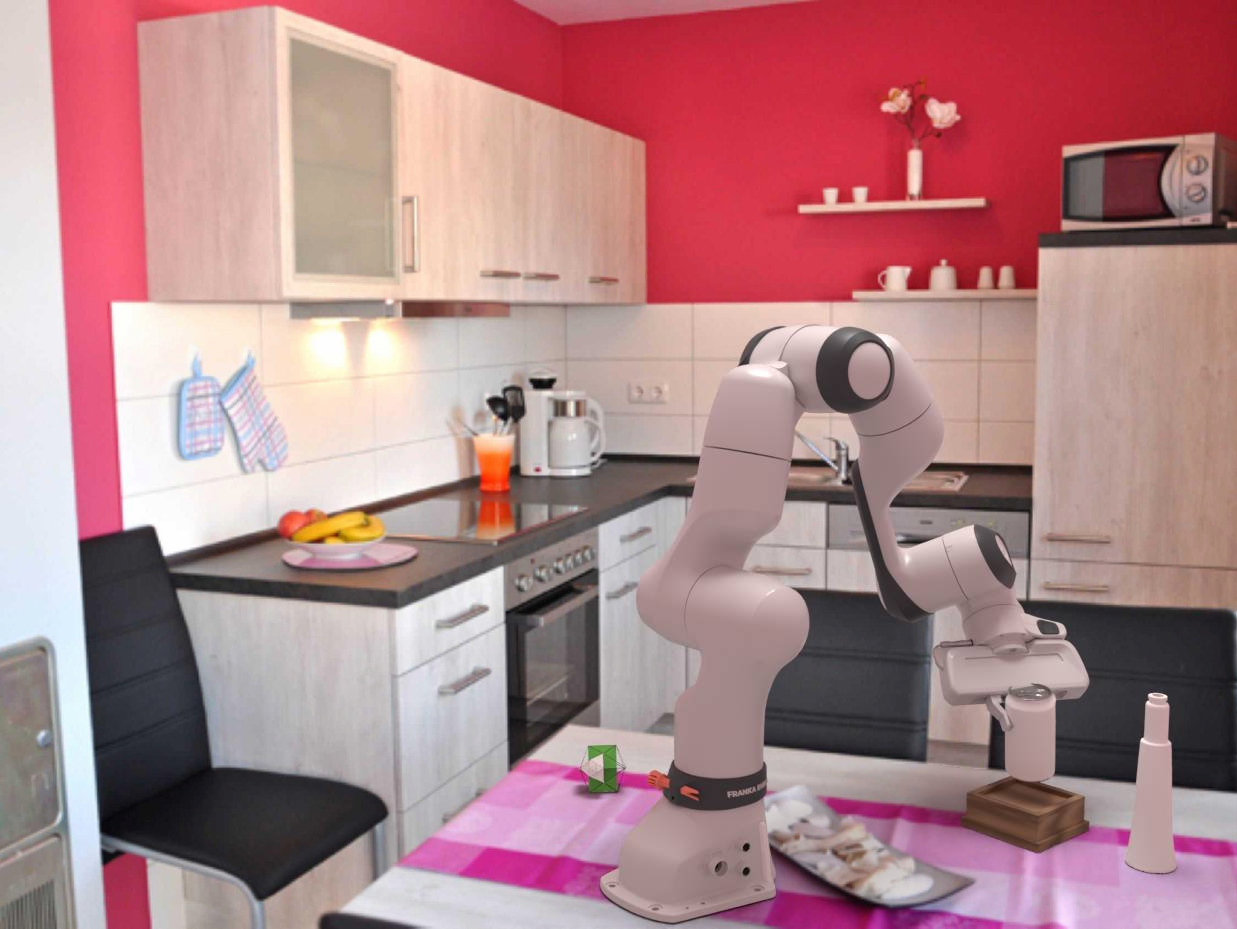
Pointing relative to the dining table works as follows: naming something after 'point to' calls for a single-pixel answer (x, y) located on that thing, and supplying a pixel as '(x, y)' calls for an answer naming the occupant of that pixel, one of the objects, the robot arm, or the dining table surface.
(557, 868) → the dining table surface
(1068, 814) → the pedestal
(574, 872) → the dining table surface
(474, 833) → the dining table surface
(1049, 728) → the can
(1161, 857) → the pink bottle
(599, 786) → the geometric puzzle
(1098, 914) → the dining table surface
